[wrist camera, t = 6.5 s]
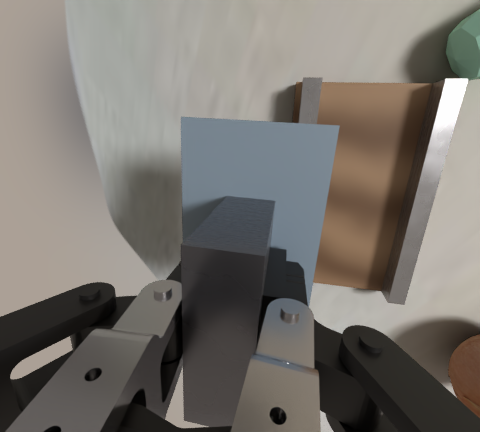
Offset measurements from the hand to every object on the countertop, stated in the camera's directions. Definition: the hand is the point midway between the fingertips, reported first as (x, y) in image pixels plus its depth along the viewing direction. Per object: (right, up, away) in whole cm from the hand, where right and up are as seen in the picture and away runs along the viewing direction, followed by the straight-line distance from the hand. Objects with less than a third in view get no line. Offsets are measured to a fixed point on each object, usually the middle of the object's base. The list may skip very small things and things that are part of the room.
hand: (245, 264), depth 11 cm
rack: (+11, +4, +15) cm, 19 cm away
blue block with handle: (+1, +1, +4) cm, 4 cm away
